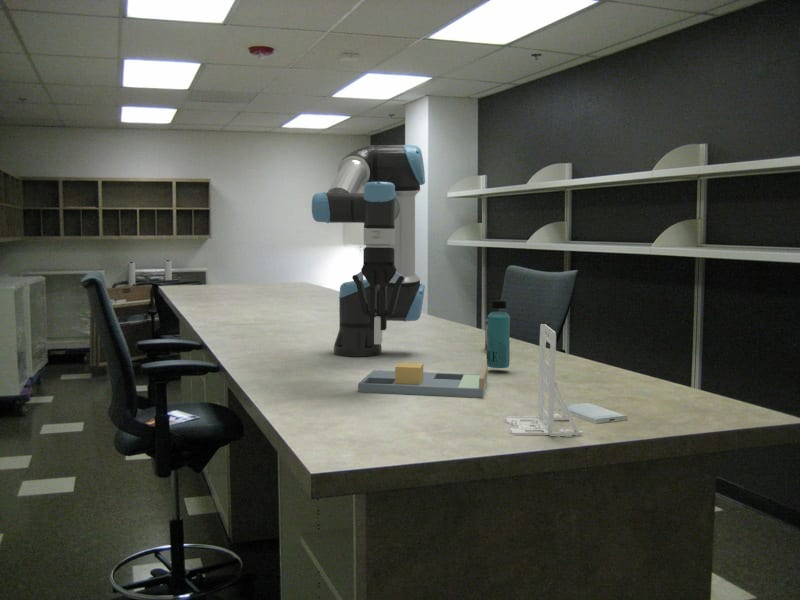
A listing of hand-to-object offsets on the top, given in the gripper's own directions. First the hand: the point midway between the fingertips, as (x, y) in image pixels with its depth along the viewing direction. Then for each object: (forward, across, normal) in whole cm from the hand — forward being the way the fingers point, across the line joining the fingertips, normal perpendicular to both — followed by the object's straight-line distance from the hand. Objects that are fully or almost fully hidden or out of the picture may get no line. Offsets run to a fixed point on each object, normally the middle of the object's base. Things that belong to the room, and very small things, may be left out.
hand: (378, 343), depth 182 cm
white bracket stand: (+12, +39, -28) cm, 49 cm away
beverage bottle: (+11, +28, +30) cm, 43 cm away
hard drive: (+12, +50, -16) cm, 54 cm away
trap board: (+11, +11, +5) cm, 16 cm away
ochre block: (+9, +8, +1) cm, 12 cm away
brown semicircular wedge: (+11, +26, +65) cm, 71 cm away
